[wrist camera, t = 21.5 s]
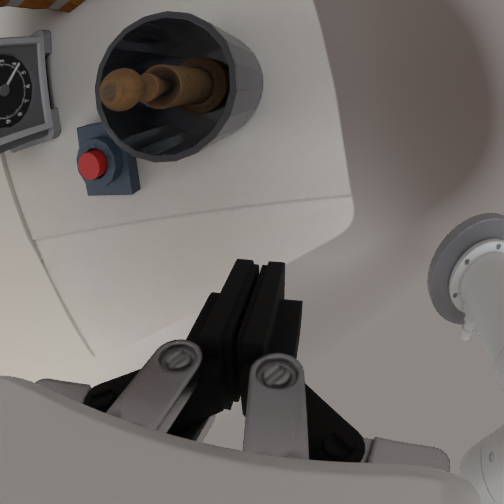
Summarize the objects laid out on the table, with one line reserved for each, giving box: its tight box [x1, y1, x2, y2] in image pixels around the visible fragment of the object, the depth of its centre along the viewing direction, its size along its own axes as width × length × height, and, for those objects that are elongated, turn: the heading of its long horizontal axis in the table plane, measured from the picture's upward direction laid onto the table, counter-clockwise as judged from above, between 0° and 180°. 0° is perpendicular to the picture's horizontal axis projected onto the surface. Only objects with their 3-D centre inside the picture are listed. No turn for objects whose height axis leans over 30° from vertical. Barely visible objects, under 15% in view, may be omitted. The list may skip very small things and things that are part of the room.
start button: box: [79, 150, 107, 180], centre depth 35 cm, size 4×4×2 cm
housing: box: [77, 122, 140, 196], centre depth 37 cm, size 10×8×4 cm
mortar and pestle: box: [99, 57, 230, 114], centre depth 24 cm, size 7×6×18 cm
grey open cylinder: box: [95, 11, 263, 162], centre depth 27 cm, size 13×13×12 cm
